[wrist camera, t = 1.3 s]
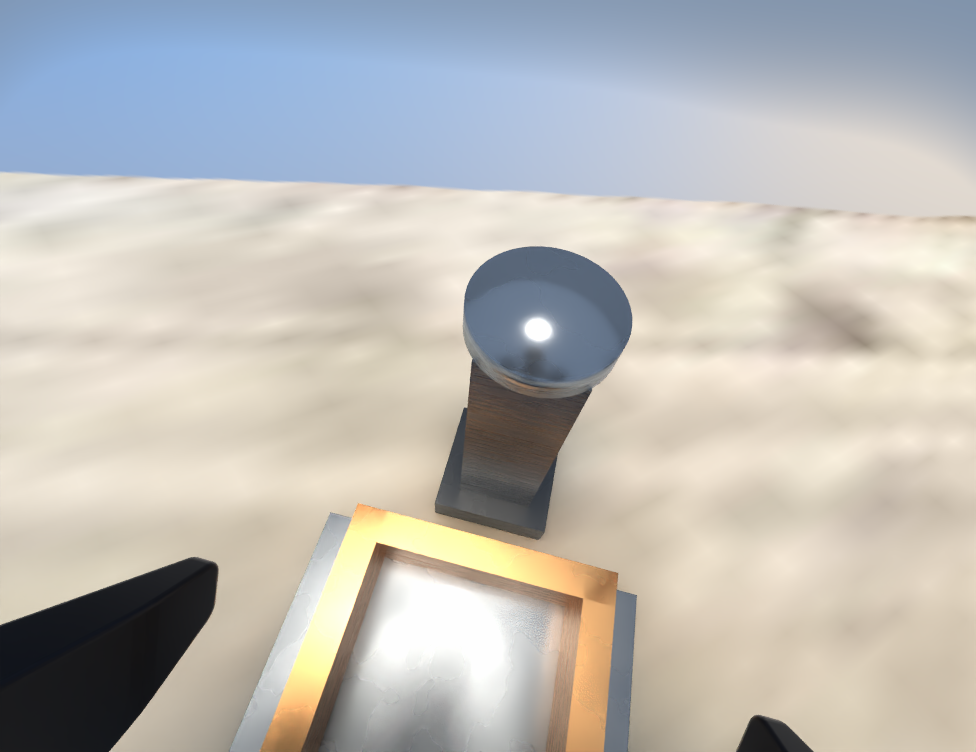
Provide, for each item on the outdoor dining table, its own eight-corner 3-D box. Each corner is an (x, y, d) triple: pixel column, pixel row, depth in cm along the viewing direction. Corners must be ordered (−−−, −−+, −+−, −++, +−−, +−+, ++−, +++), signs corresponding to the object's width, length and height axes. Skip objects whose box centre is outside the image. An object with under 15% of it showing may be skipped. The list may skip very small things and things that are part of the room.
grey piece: (538, 539, 22) (637, 411, 11) (435, 512, 22) (427, 359, 11) (555, 444, 24) (648, 261, 13) (463, 420, 24) (479, 223, 13)
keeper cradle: (601, 1076, 14) (647, 1197, 11) (159, 930, 14) (82, 1003, 11) (631, 597, 21) (664, 585, 18) (333, 516, 21) (314, 491, 18)
